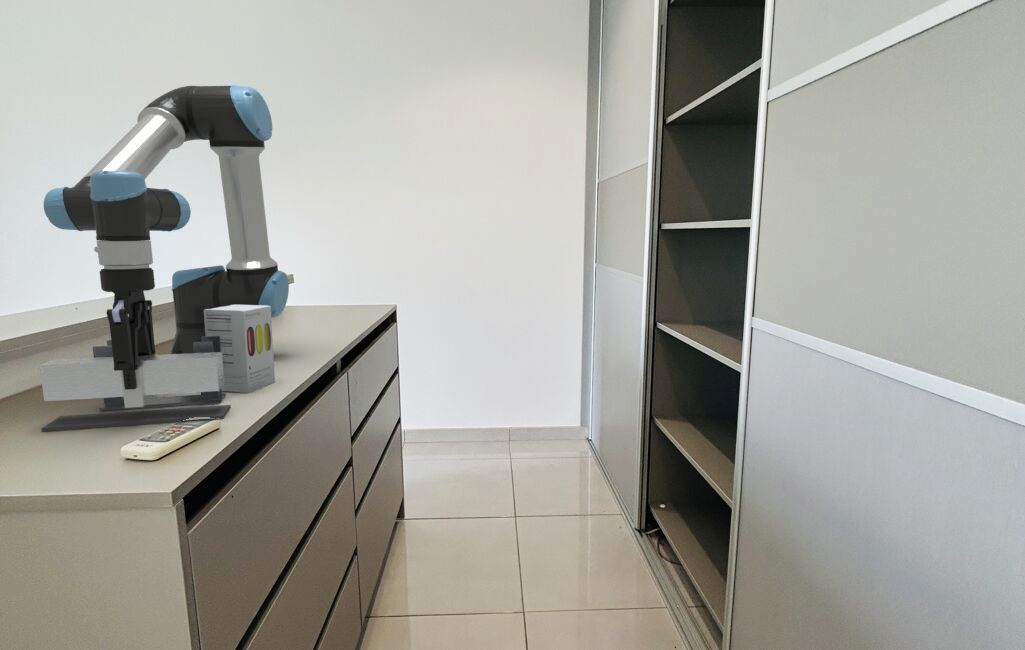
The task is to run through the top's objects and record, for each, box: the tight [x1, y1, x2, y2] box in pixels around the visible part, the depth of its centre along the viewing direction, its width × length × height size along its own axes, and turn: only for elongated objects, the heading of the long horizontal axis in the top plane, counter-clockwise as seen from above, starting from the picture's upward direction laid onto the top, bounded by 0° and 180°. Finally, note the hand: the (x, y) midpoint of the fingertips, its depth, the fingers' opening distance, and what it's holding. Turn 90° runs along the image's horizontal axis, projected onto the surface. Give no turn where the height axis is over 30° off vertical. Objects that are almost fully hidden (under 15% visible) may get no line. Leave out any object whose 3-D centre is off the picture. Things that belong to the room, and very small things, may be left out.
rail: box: [39, 352, 224, 402], centre depth 100 cm, size 4×26×6 cm, turn 105°
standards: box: [92, 336, 227, 412], centre depth 109 cm, size 7×20×12 cm, turn 105°
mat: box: [41, 404, 232, 433], centre depth 101 cm, size 6×27×1 cm, turn 105°
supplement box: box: [204, 305, 276, 394], centre depth 121 cm, size 10×9×17 cm
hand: (140, 402), depth 100 cm, fingers closed on rail, 4 cm apart
